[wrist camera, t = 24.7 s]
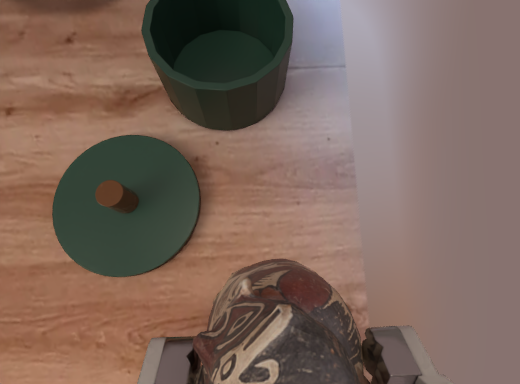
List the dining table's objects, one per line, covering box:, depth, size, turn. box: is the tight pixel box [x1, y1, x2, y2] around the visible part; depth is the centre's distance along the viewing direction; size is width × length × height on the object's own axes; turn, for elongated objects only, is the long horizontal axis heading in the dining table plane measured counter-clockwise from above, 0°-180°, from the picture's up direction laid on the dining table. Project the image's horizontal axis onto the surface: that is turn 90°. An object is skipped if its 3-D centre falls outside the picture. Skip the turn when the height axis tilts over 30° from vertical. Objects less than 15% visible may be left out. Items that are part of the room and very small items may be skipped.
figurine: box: [193, 259, 371, 384], centre depth 11 cm, size 7×7×12 cm
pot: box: [141, 0, 293, 130], centre depth 33 cm, size 15×15×8 cm
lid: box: [52, 135, 200, 277], centre depth 30 cm, size 16×16×5 cm
